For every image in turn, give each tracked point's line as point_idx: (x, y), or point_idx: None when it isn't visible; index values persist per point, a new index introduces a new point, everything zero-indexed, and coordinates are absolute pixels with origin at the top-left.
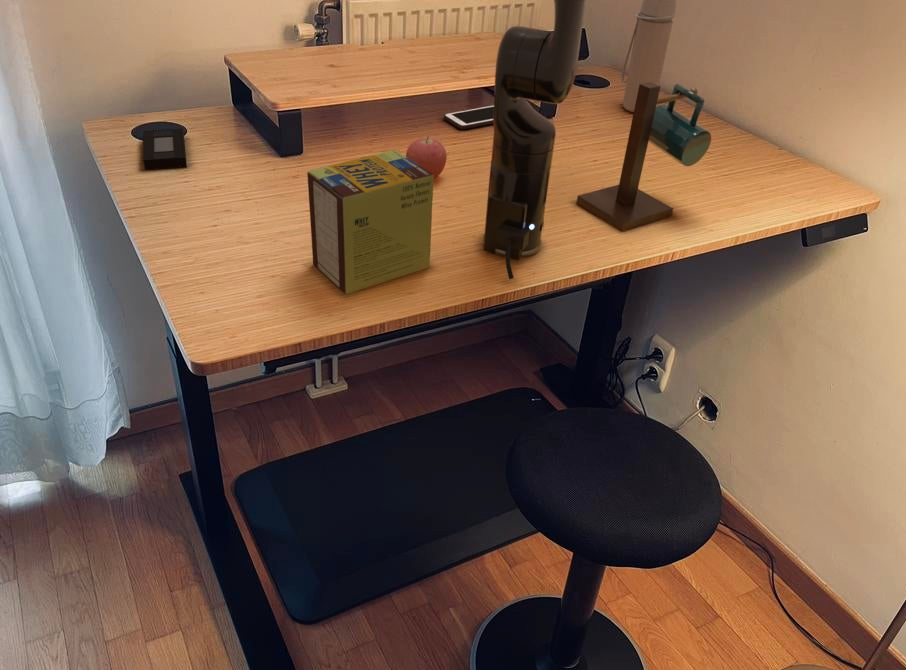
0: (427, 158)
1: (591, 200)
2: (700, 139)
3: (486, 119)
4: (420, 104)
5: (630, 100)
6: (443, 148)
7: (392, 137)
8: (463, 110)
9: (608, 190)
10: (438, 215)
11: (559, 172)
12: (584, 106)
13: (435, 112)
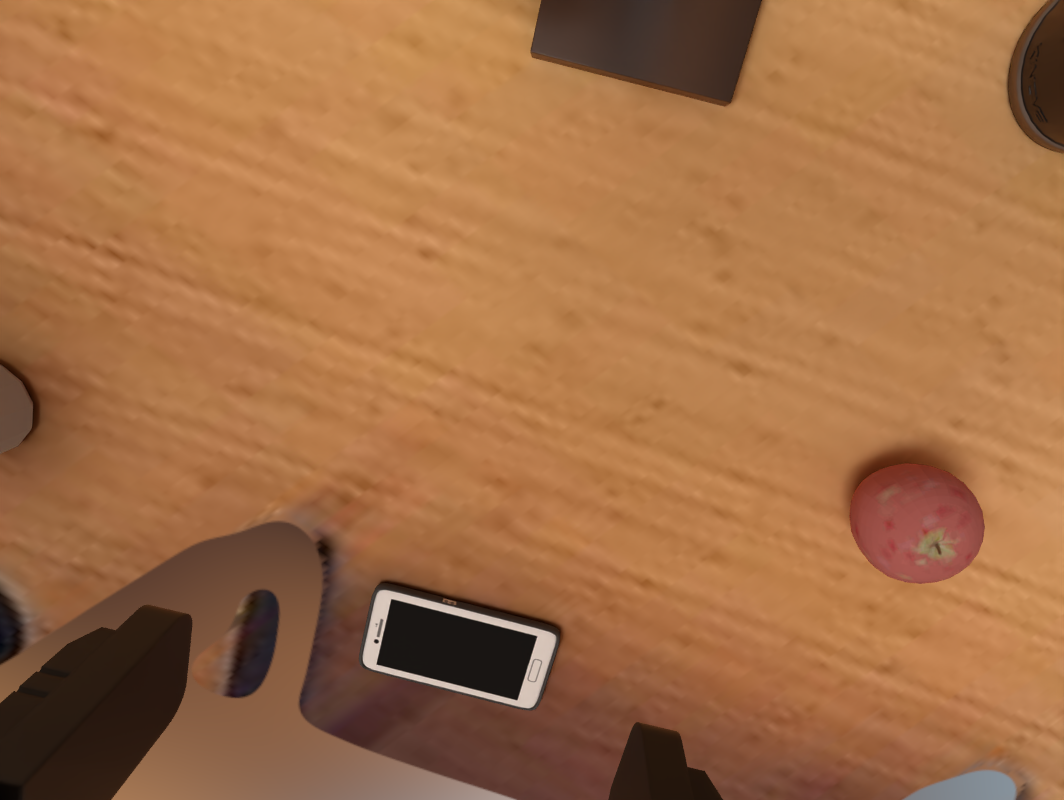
0: (971, 495)
1: (730, 48)
2: None
3: (468, 621)
4: (503, 794)
5: (9, 418)
6: (904, 500)
7: (731, 706)
8: (470, 695)
9: (627, 55)
10: (1057, 327)
11: (579, 276)
12: (124, 518)
13: (514, 740)
